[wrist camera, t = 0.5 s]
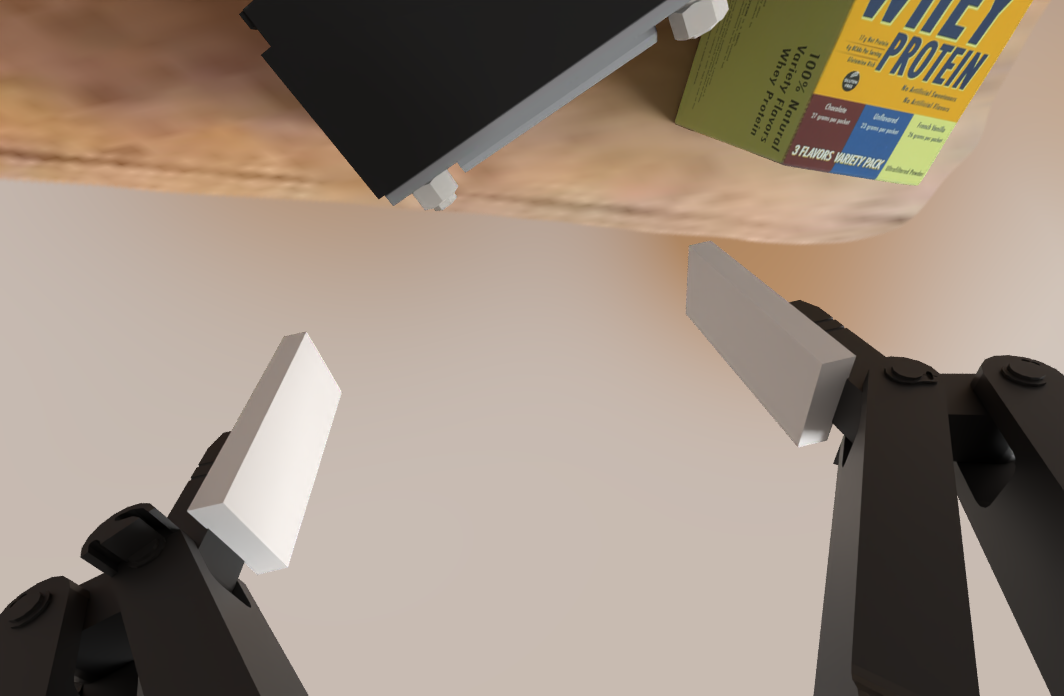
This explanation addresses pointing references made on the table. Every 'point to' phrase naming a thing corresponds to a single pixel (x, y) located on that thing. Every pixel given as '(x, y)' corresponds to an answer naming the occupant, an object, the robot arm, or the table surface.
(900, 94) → the protein box
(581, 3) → the electrical component
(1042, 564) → the robot arm
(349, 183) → the table surface
